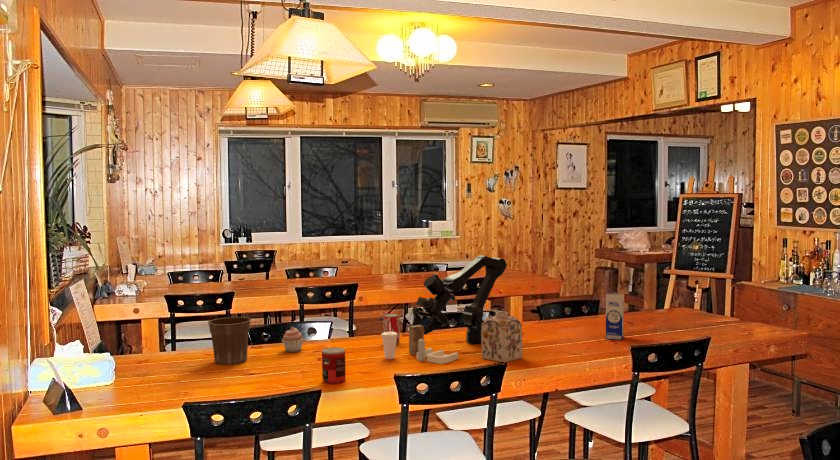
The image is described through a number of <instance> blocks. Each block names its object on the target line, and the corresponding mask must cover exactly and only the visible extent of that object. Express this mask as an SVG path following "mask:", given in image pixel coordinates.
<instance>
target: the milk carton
mask: <svg viewBox="0 0 840 460" xmlns="http://www.w3.org/2000/svg"><path fill="white" fill-rule="evenodd" d="M624 298H625V295H624V294H621V293H620V292H616V291H615V292H614V291H613V292H611V293H605V340H611V341H612V340H613V341H614V340H615V341H623V339H624V334H625V333H624V332H625V329H624V328H625V327H624V324H625V319H624V317H625V315H624V313H625V312H624V311H625V310H624V309H625V307H624V304H625V299H624Z"/></svg>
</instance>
